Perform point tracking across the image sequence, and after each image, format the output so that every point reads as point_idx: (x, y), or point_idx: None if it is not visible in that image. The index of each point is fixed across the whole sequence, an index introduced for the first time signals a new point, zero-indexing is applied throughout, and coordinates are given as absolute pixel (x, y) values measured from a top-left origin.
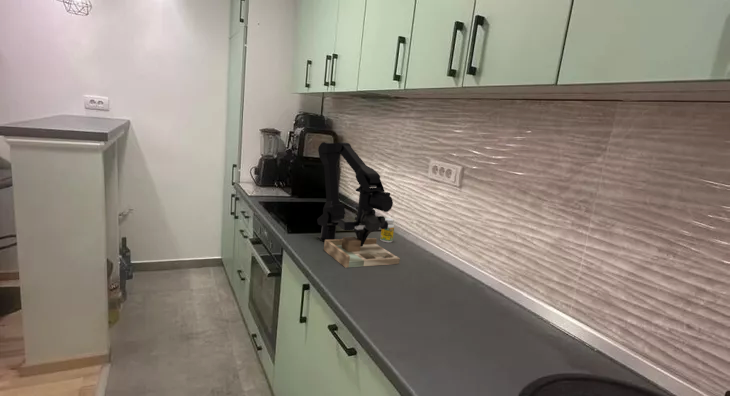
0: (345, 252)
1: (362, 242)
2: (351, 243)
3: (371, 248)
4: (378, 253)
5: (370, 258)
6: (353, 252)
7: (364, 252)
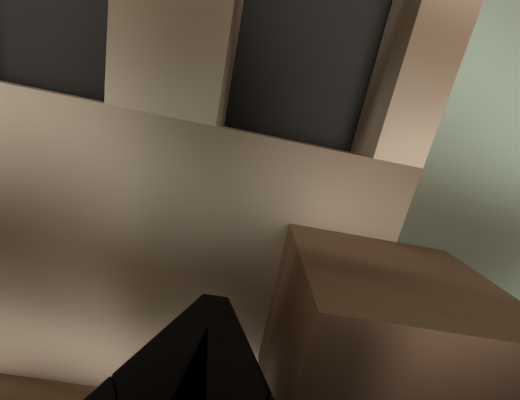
0: (481, 246)
1: (209, 327)
2: (503, 313)
3: (66, 258)
4: (67, 95)
5: (229, 78)
6: (393, 216)
7: (257, 171)
